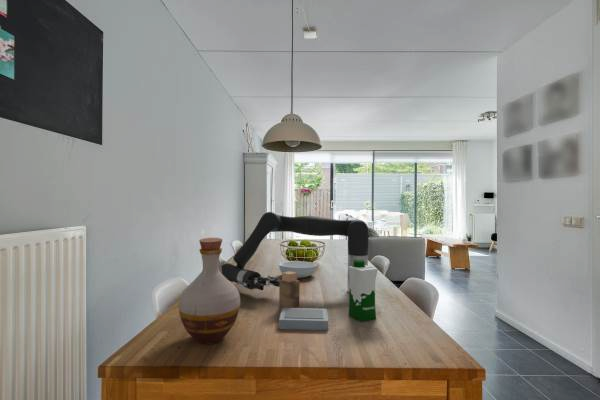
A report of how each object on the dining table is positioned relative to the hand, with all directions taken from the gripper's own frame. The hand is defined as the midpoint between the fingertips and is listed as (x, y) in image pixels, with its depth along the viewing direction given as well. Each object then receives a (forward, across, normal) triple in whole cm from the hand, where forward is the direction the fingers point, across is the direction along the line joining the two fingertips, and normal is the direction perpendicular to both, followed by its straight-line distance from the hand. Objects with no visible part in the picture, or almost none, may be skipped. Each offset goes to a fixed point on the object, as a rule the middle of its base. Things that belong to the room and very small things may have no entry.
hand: (271, 285), depth 135 cm
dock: (+25, -6, +7) cm, 27 cm away
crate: (+11, 0, +7) cm, 13 cm away
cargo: (+11, 0, -4) cm, 12 cm away
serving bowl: (-28, +40, +7) cm, 49 cm away
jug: (+15, -35, +7) cm, 39 cm away
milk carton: (+35, +14, +7) cm, 39 cm away
